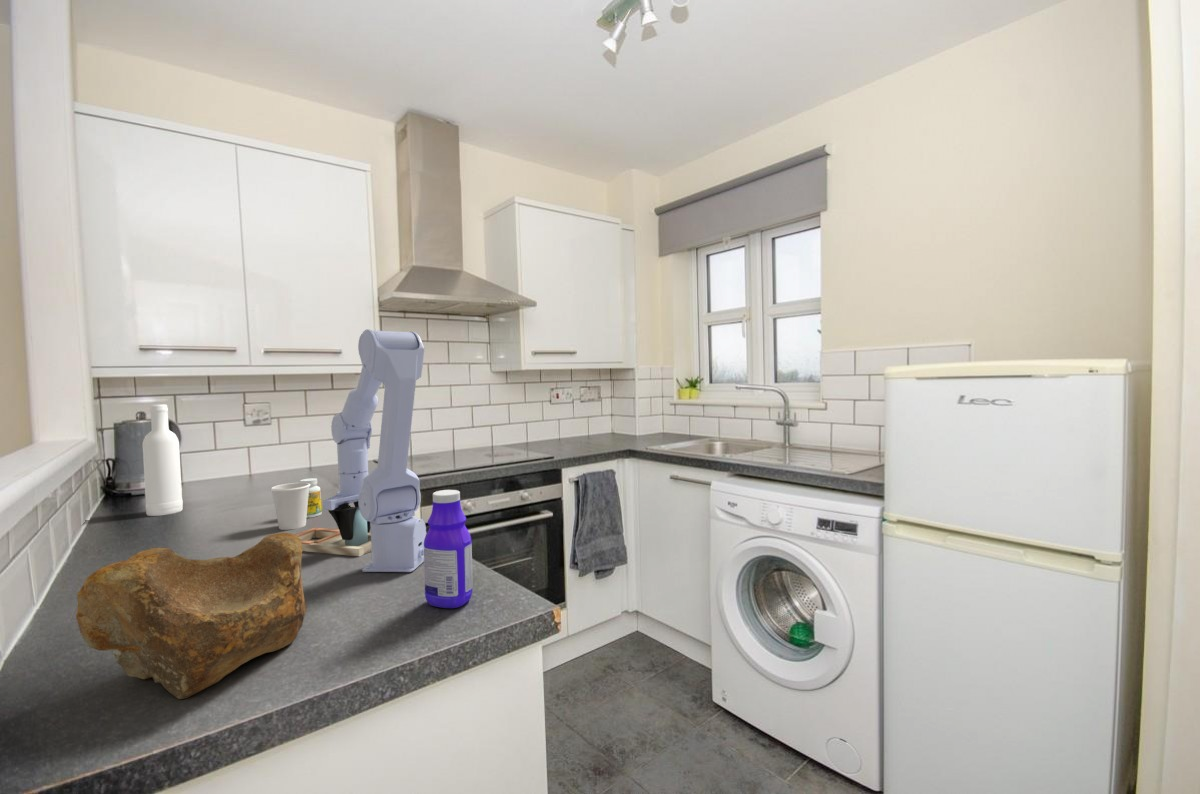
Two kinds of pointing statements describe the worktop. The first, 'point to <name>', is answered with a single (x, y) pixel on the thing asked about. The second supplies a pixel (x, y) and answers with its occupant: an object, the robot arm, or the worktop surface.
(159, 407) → the bottle
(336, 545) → the wooden slot frame
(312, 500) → the supplement bottle
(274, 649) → the rough brown rock
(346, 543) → the peg
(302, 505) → the dixie cup
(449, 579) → the bottle
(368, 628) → the worktop surface
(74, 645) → the worktop surface
